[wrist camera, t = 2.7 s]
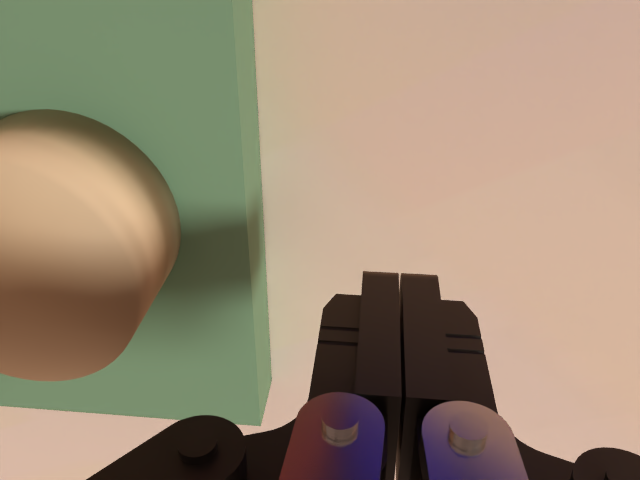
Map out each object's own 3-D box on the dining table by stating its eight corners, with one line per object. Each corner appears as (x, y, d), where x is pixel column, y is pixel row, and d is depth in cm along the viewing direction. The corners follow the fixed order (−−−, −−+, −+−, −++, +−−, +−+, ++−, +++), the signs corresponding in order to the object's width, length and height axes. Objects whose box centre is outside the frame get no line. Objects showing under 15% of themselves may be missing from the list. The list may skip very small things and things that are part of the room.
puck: (-66, 105, 14) (-168, 152, 12) (166, 112, 14) (114, 163, 11) (-2, 299, 17) (-73, 372, 14) (191, 311, 16) (155, 389, 14)
